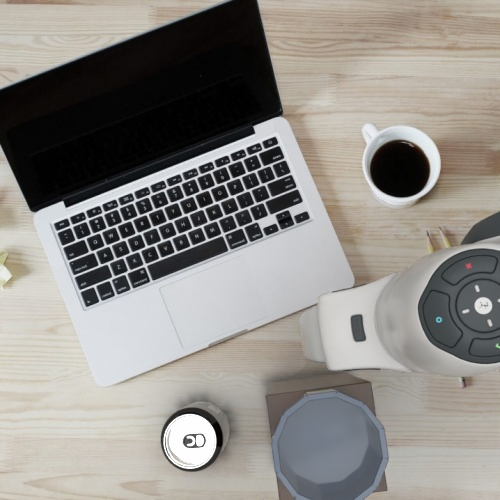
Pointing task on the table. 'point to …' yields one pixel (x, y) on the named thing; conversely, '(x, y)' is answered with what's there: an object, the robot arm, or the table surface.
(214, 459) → the beverage can
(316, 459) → the bowl
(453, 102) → the table surface
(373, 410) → the plinth
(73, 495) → the table surface
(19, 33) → the table surface
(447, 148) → the table surface
